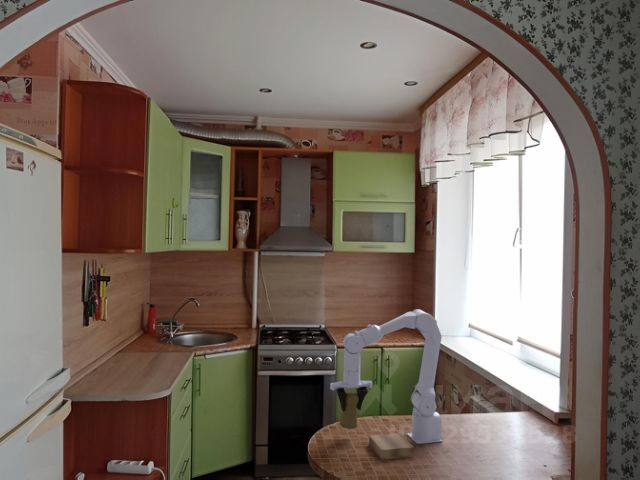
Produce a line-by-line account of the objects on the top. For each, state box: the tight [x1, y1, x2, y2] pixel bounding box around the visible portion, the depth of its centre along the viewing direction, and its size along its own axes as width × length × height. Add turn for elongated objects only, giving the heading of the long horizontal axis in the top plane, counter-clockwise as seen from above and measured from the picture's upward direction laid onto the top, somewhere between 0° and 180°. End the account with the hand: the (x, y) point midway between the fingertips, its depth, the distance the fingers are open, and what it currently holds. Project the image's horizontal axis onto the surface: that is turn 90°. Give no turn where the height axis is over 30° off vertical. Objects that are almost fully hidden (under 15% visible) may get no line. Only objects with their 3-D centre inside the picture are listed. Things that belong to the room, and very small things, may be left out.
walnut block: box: [368, 432, 415, 460], centre depth 156 cm, size 11×11×3 cm
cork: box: [339, 391, 359, 430], centre depth 163 cm, size 6×6×11 cm
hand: (350, 409), depth 163 cm, fingers closed on cork, 5 cm apart
